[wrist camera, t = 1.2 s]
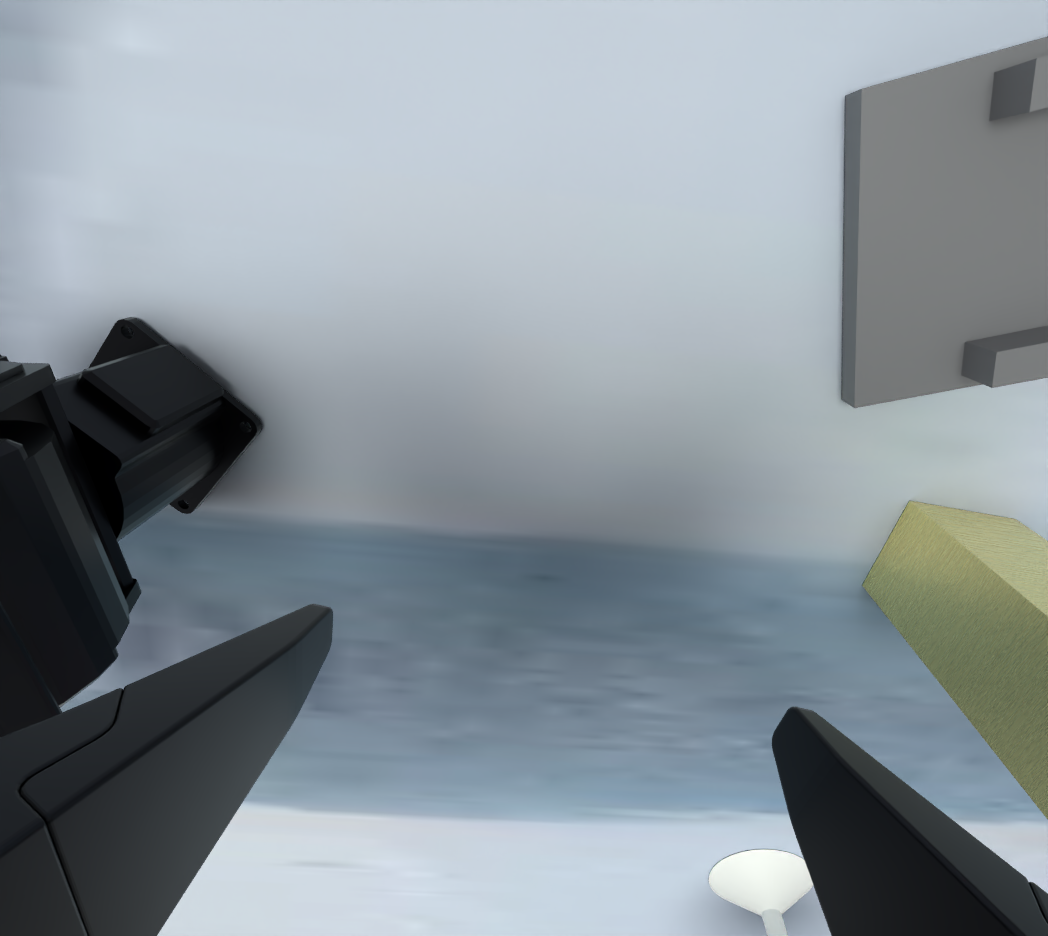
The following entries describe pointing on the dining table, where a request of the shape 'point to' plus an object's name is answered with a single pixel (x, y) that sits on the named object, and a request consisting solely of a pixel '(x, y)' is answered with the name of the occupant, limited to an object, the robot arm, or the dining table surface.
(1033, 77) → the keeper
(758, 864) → the champagne flute
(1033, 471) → the dining table surface
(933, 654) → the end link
